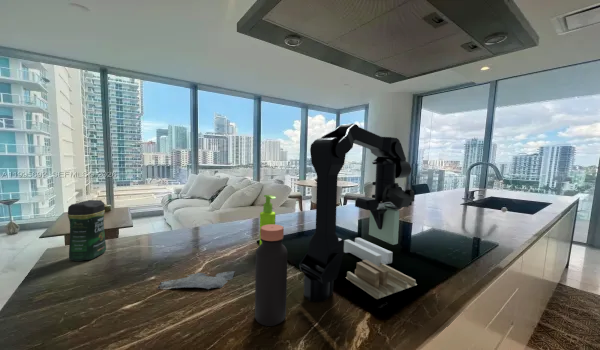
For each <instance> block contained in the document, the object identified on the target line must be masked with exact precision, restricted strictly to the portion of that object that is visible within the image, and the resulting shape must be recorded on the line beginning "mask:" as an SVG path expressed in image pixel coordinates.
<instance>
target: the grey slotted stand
mask: <svg viewBox="0 0 600 350" xmlns="http://www.w3.org/2000/svg"><path fill="white" fill-rule="evenodd" d="M343 241H344V247H343V253H344V254H348V253H350V254H351V255H353V256H355V257H357V258H359V259H361V261H362V260H368V261H370V262H372V263H374V264H375V265H377V266H379V267H380V263H383V264H385V265H388V264H392V263H393V254H394V253H393V251H391V250H388V249H386V248H383V247H381V246H379V245H377V244H375V243H372V242H370V241H368V240H366V239H363V238H361V237H355V238H354V241H353V240H351V239H343Z"/></svg>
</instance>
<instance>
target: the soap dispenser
mask: <svg viewBox="0 0 600 350" xmlns="http://www.w3.org/2000/svg"><path fill="white" fill-rule="evenodd" d="M263 197H265V202H264V203H263V211H261V212H259V232H260V231H261V227H262V226H264V225H269V224H275V225H276V212H275V211H273V203H272V202H271V200H272V199H273V200H274V199H277V198H276V196H274V195H272V194H265V195H263ZM261 244H262V241H261V237H260V236H259V246H260V245H261Z"/></svg>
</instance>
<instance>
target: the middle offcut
mask: <svg viewBox="0 0 600 350" xmlns="http://www.w3.org/2000/svg"><path fill="white" fill-rule="evenodd" d="M361 262H362V263H364V264H366V265H367V266H369V267H371V268H373V269H375V270H376V271H378V272H380V274H379V284H380V285H382V286H384V287H385V288H387V279H388V271H387V270H385V269H383V268H381V267H380V266H377V265H375V264H374V263H372V262H370V261H368V260H362V259H361Z"/></svg>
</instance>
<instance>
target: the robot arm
mask: <svg viewBox="0 0 600 350" xmlns="http://www.w3.org/2000/svg"><path fill="white" fill-rule="evenodd" d="M354 144H355V145H358V146H360V147H363V148H366V149H368V150H369V151H370V153H371V154H372V155H374V156H375V157H376V158H375V159H373V161H372V165H375V181H372V186H374V194H371V197H367V196H363V197H357V198H355V201H354V207H355V208H359V209H362V210H366V211H369V212H370V211H371V213H372V215H373V217H374V220H375V222H376V224H377V227H378V229H380V230H381V229H382V226H383V216H384V213H385V212H386V211H387V209H384V207H387V208H391V209H395V210H399V211H400V210H401V209H402V208H409V206H412V205H413V203H412V202H415V190H413V189H411V188H409V189H405V190H404V189H400V186H399V183H398V182H396V179H402V178H403V179H404V178H407V177H409V176H410V174H411V172H412V167H411V164H410V163H409V162H408V161H407V158H406V155H405V152H404V148H403V146H402V145H403V144H402V143H401V142H400V139H399V138H397V137H392V136H382V135H378V134H376V133H375V132H374V133H373V132H371V131H369V130H367V129H365V128H363V127H360V126H359V125H358V124H356V123H346V124H345V123H343V124H340V125H339V126H337V127H336V128H335V129H334V130H332V131H330V132H328V133H326V134H324V135H323V136H321V137H320V138H316V139H314V141H313V142H312V143H311V144H310V149H309V151H310V160H311V162H310V163H311V165H312V167H313V169H314V171H315V174H316V196H315V197H316V198H315V199H316V202H315V231H314V233H313V235H312V237H310V240H309V244H308V250H307V252H306V253H305V254H304V255H303V258H302V259H301V260H300V262H299V264H298V265H299V271H300V272H303V273H304V275H303V276H304V279H303V296H304V298H306V299H307V300H308V301H309V302H311V303H312V302H314V303H315V302H316V303H321V302H325V301H327V300H329V298H330V297H331V296H332V295H333V294H334V281H335V280H337V279H338V277H339V273H340V270H341V266H342V262H343V257H344V256H345V252H344V239H343V238H340V237H338V235H337V232H336V228H337V227H336V226H337V201H338V199H337V197H338V175H339V173H340V172H341V170H342V168H344V165H345V163H346V162H345V161H346V155H347V154H348V153H349V152H350V151H351V150H352V149H353V147H354Z"/></svg>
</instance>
